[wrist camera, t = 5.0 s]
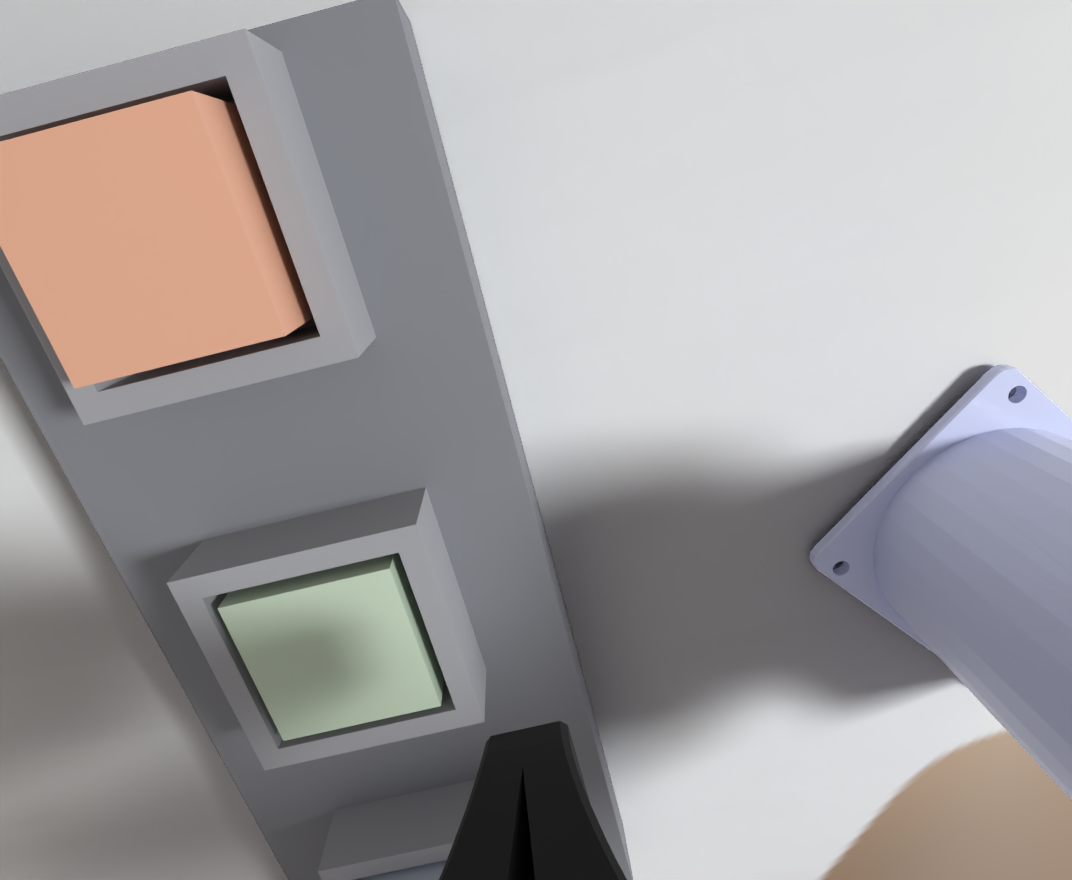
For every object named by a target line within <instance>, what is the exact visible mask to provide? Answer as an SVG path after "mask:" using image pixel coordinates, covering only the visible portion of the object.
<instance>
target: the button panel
mask: <svg viewBox="0 0 1072 880" xmlns="http://www.w3.org/2000/svg"><path fill="white" fill-rule="evenodd" d="M191 90H192V91H195V92H198V93H201V94H204V95H207V96H210V97H214V98H217V99H220V100H223V101H226V102H229V103H232V104H235V105H236V106H237V108H238V111H239V114H240V117H241V119H242V122H243V125H244V128H245V130H246V133H247V136H248V139H249V141H250V144H251V147H252V150H253V152H254V155H255V158H256V161H257V163H258V166H259V169H260V172H261V174H262V177H263V180H264V183H265V185H266V188H267V191H268V194H269V197H270V199H271V202H272V205H273V208H274V210H275V213H276V216H277V219H278V221H279V224H280V227H281V230H282V232H283V235H284V238H285V241H286V243H287V246H288V249H289V252H290V254H291V257H292V260H293V263H294V265H295V268H296V271H297V274H298V276H299V279H300V282H301V285H302V287H303V290H304V293H305V296H306V298H307V301H308V304H309V307H310V309H311V312H312V315H313V318H312V319H310V320H309V321H307V322H306V323H304V324H303V325H301V326H300V327H298V328H297V329H295V330H294V331H292V332H291V333H289V334H288V335H286V336H284V337H280V338H276V339H272V340H268V341H264V342H260V343H256V344H252V345H248V346H244V347H240V348H236V349H232V350H228V351H224V352H220V353H216V354H212V355H208V356H204V357H200V358H196V359H192V360H188V361H184V362H180V363H176V364H172V365H168V366H164V367H160V368H156V369H152V370H148V371H144V372H140V373H135V374H131V375H127V376H123V377H119V378H115V379H111V380H107V381H103V382H99V383H95V384H91V385H87V386H83V387H79V388H75V389H74V387H73V385H72V383H71V381H70V379H69V378H68V376H67V374H66V372H65V370H64V368H63V366H62V364H61V362H60V360H59V358H58V356H57V354H56V352H55V350H54V349H53V347H52V345H51V343H50V341H49V339H48V337H47V335H46V333H45V331H44V329H43V327H42V325H41V323H40V322H39V320H38V318H37V316H36V314H35V312H34V310H33V308H32V306H31V304H30V302H29V300H28V298H27V296H26V295H25V293H24V291H23V289H22V287H21V285H20V283H19V281H18V279H17V277H16V275H15V273H14V271H13V269H12V268H11V266H10V264H9V262H8V260H7V258H6V256H5V254H4V252H3V250H2V248H1V246H0V358H1V359H2V361H3V363H4V365H5V367H6V369H7V370H8V372H9V374H10V376H11V378H12V379H13V381H14V383H15V385H16V387H17V388H18V390H19V392H20V394H21V396H22V398H23V399H24V401H25V403H26V405H27V407H28V408H29V410H30V412H31V414H32V416H33V417H34V419H35V421H36V423H37V425H38V427H39V428H40V430H41V432H42V434H43V436H44V437H45V439H46V441H47V443H48V445H49V446H50V448H51V450H52V452H53V454H54V456H55V457H56V459H57V461H58V463H59V465H60V466H61V468H62V470H63V472H64V474H65V476H66V477H67V479H68V481H69V483H70V485H71V486H72V488H73V490H74V492H75V494H76V495H77V497H78V499H79V501H80V503H81V505H82V506H83V508H84V510H85V512H86V514H87V515H88V517H89V519H90V521H91V523H92V524H93V526H94V528H95V530H96V532H97V534H98V535H99V537H100V539H101V541H102V543H103V544H104V546H105V548H106V550H107V552H108V553H109V555H110V557H111V559H112V561H113V563H114V564H115V566H116V568H117V570H118V572H119V573H120V575H121V577H122V579H123V581H124V582H125V584H126V586H127V588H128V590H129V592H130V593H131V595H132V597H133V599H134V601H135V602H136V604H137V606H138V608H139V610H140V612H141V613H142V615H143V617H144V619H145V621H146V622H147V624H148V626H149V628H150V630H151V631H152V633H153V635H154V637H155V639H156V641H157V642H158V644H159V646H160V648H161V650H162V651H163V653H164V655H165V657H166V659H167V660H168V662H169V664H170V666H171V668H172V670H173V671H174V673H175V675H176V677H177V679H178V680H179V682H180V684H181V686H182V688H183V689H184V691H185V693H186V695H187V697H188V699H189V700H190V702H191V704H192V706H193V708H194V709H195V711H196V713H197V715H198V717H199V719H200V720H201V722H202V724H203V726H204V728H205V729H206V731H207V733H208V735H209V737H210V738H211V740H212V742H213V744H214V746H215V748H216V749H217V751H218V753H219V755H220V757H221V758H222V760H223V762H224V764H225V766H226V767H227V769H228V771H229V773H230V775H231V777H232V778H233V780H234V782H235V784H236V786H237V787H238V789H239V791H240V793H241V795H242V796H243V798H244V800H245V802H246V804H247V806H248V807H249V809H250V811H251V813H252V815H253V816H254V818H255V820H256V822H257V824H258V826H259V827H260V829H261V831H262V833H263V835H264V836H265V838H266V840H267V842H268V844H269V845H270V847H271V849H272V851H273V853H274V855H275V856H276V858H277V860H278V862H279V864H280V865H281V867H282V869H283V871H284V873H285V874H286V876H287V878H288V880H360V878H363V877H368V876H373V875H377V874H382V873H387V872H392V871H396V870H401V869H406V868H411V867H415V866H420V865H425V864H429V863H434V862H439V861H444V860H447V858H448V856H449V853H450V850H451V848H452V845H453V842H454V840H455V837H456V834H457V832H458V829H459V826H460V824H461V821H462V818H463V816H464V813H465V810H466V807H467V804H468V801H469V798H470V795H471V792H472V789H473V786H474V783H475V779H476V776H477V773H478V770H479V766H480V763H481V759H482V756H483V752H484V748H485V744H486V742H487V740H488V739H489V738H490V736H493V735H497V734H502V733H506V732H511V731H516V730H520V729H525V728H529V727H534V726H538V725H543V724H547V723H552V722H557V721H561V722H563V723H565V724H567V725H568V727H569V731H570V734H571V738H572V741H573V745H574V748H575V752H576V755H577V759H578V762H579V766H580V769H581V773H582V776H583V780H584V783H585V787H586V790H587V794H588V797H589V801H590V804H591V807H592V809H593V811H594V813H595V815H596V818H597V820H598V822H599V824H600V827H601V829H602V831H603V833H604V835H605V838H606V840H607V842H608V844H609V846H610V848H611V850H612V852H613V854H614V856H615V858H616V860H617V862H618V864H619V866H620V867H621V869H622V871H623V873H624V875H625V877H626V879H627V880H633V876H632V871H631V866H630V860H629V855H628V849H627V844H626V839H625V833H624V828H623V823H622V820H621V816H620V812H619V808H618V805H617V801H616V797H615V793H614V789H613V786H612V782H611V778H610V774H609V771H608V767H607V763H606V759H605V755H604V752H603V748H602V744H601V740H600V737H599V733H598V729H597V725H596V721H595V718H594V714H593V710H592V706H591V703H590V699H589V695H588V691H587V687H586V684H585V680H584V676H583V672H582V669H581V665H580V661H579V657H578V653H577V650H576V646H575V642H574V638H573V635H572V631H571V627H570V623H569V619H568V616H567V612H566V608H565V604H564V601H563V597H562V593H561V589H560V585H559V582H558V578H557V574H556V570H555V567H554V563H553V559H552V555H551V551H550V548H549V544H548V540H547V536H546V533H545V529H544V525H543V521H542V517H541V514H540V510H539V506H538V502H537V499H536V495H535V491H534V487H533V483H532V480H531V476H530V472H529V468H528V465H527V461H526V457H525V453H524V449H523V446H522V442H521V438H520V434H519V431H518V427H517V423H516V419H515V415H514V412H513V408H512V404H511V400H510V397H509V393H508V389H507V385H506V381H505V378H504V374H503V370H502V366H501V362H500V359H499V355H498V351H497V347H496V344H495V340H494V336H493V332H492V328H491V325H490V321H489V317H488V313H487V310H486V306H485V302H484V298H483V294H482V291H481V287H480V283H479V279H478V276H477V272H476V268H475V264H474V260H473V257H472V253H471V249H470V245H469V242H468V238H467V234H466V230H465V226H464V223H463V219H462V215H461V211H460V208H459V204H458V200H457V196H456V192H455V189H454V185H453V181H452V177H451V174H450V170H449V166H448V162H447V158H446V155H445V151H444V147H443V143H442V140H441V136H440V132H439V128H438V124H437V121H436V117H435V113H434V109H433V106H432V102H431V98H430V94H429V90H428V87H427V83H426V79H425V75H424V72H423V68H422V64H421V60H420V56H419V53H418V49H417V45H416V41H415V38H414V34H413V30H412V26H411V22H410V20H409V18H408V17H407V15H406V13H405V11H404V9H403V8H402V6H401V4H400V2H399V0H357V1H353V2H350V3H346V4H342V5H339V6H335V7H331V8H328V9H324V10H320V11H317V12H313V13H309V14H305V15H302V16H298V17H294V18H291V19H287V20H283V21H280V22H276V23H272V24H269V25H265V26H261V27H257V28H254V29H250V30H246V29H242V30H238V31H234V32H231V33H227V34H223V35H219V36H216V37H212V38H208V39H205V40H201V41H197V42H194V43H190V44H186V45H183V46H179V47H175V48H171V49H168V50H164V51H160V52H157V53H153V54H149V55H146V56H142V57H138V58H135V59H131V60H127V61H124V62H120V63H116V64H112V65H109V66H105V67H101V68H98V69H94V70H90V71H87V72H83V73H79V74H76V75H72V76H68V77H65V78H61V79H57V80H53V81H50V82H46V83H42V84H39V85H35V86H31V87H28V88H24V89H20V90H17V91H13V92H9V93H5V94H2V95H0V142H1V141H5V140H8V139H12V138H16V137H20V136H23V135H27V134H31V133H34V132H38V131H42V130H46V129H49V128H53V127H57V126H61V125H64V124H68V123H72V122H76V121H79V120H83V119H87V118H90V117H94V116H98V115H102V114H105V113H109V112H113V111H117V110H120V109H124V108H128V107H132V106H135V105H139V104H143V103H146V102H150V101H154V100H158V99H161V98H165V97H169V96H173V95H176V94H180V93H184V92H188V91H191ZM395 553H399V555H400V557H401V560H402V563H403V566H404V568H405V571H406V574H407V577H408V579H409V582H410V585H411V588H412V590H413V593H414V596H415V599H416V601H417V604H418V607H419V610H420V612H421V615H422V618H423V621H424V623H425V626H426V629H427V632H428V634H429V637H430V640H431V643H432V645H433V648H434V651H435V654H436V656H437V659H438V662H439V665H440V667H441V670H442V673H443V676H444V685H443V693H442V701H441V706H439V707H435V708H430V709H426V710H421V711H417V712H412V713H408V714H403V715H399V716H394V717H390V718H385V719H381V720H376V721H372V722H367V723H363V724H358V725H354V726H349V727H345V728H340V729H336V730H331V731H327V732H322V733H318V734H313V735H309V736H304V737H300V738H295V739H291V740H286V741H283V739H282V737H281V735H280V733H279V731H278V729H277V727H276V725H275V723H274V721H273V719H272V717H271V715H270V713H269V711H268V709H267V707H266V705H265V703H264V701H263V699H262V697H261V695H260V693H259V691H258V689H257V687H256V685H255V683H254V681H253V679H252V677H251V675H250V673H249V671H248V669H247V667H246V665H245V663H244V661H243V659H242V657H241V655H240V653H239V651H238V649H237V647H236V645H235V643H234V641H233V639H232V637H231V635H230V633H229V631H228V629H227V627H226V625H225V623H224V621H223V619H222V617H221V615H220V613H219V611H218V609H217V608H218V607H219V605H220V604H221V603H222V601H223V600H224V598H225V597H226V595H227V594H228V592H232V591H236V590H240V589H244V588H249V587H253V586H257V585H262V584H266V583H270V582H274V581H279V580H283V579H287V578H292V577H296V576H300V575H305V574H309V573H313V572H317V571H322V570H326V569H330V568H335V567H339V566H343V565H347V564H352V563H356V562H360V561H365V560H369V559H373V558H377V557H382V556H386V555H390V554H395Z"/></svg>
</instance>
